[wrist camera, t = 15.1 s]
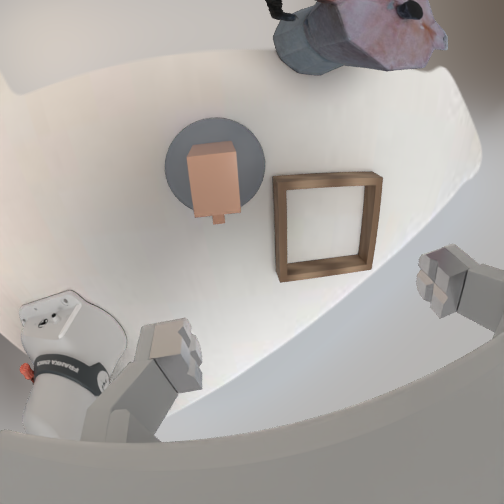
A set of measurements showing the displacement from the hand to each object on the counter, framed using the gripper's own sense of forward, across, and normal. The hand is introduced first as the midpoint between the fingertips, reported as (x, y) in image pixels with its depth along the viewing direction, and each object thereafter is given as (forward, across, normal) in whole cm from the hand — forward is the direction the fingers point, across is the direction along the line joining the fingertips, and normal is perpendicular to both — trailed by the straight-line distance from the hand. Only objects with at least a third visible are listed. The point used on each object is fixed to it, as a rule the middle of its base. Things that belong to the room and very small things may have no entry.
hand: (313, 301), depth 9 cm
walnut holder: (+28, -9, +12) cm, 32 cm away
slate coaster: (+28, +3, +1) cm, 29 cm away
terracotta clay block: (+28, +3, +1) cm, 28 cm away
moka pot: (+29, -11, -12) cm, 33 cm away
